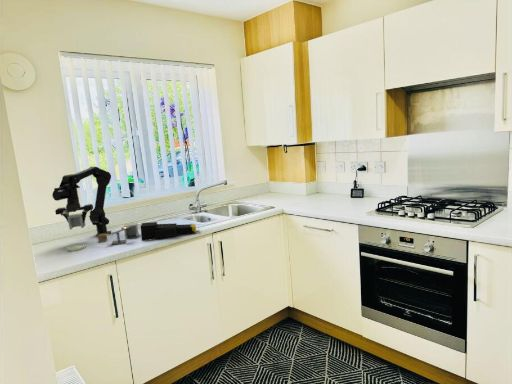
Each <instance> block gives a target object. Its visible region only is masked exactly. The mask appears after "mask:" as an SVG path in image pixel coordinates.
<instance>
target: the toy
mask: <svg viewBox="0 0 512 384" xmlns="http://www.w3.org/2000/svg"><path fill="white" fill-rule="evenodd" d="M195 234H197V226H196V224H195V223H193V224H192V223H189V224H177V223H176V222H175V223H158V221H152V222H142V223H141V224H140V235H141V241H150V240H149V239H152V240H157V239H163V238H169V237H174V236H183V235H185V236H186V235H195Z"/></svg>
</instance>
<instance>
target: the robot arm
mask: <svg viewBox="0 0 512 384" xmlns="http://www.w3.org/2000/svg"><path fill="white" fill-rule="evenodd" d="M90 176H93V178H95V182H96V185H97V188H96V189H97V191H96V196H95V197H96V198H95V201H94V202H95V203H94V205H93V204H90V203H88V204H85V205H83V206H81V204H80V197H79V194H78V189H79V188H81V187H80V186H79V185H78V184H79V183H80V182H81V180H83V179H86V178H89V177H90ZM111 178H112V175H111V172H109V171H107V170H104V169H102V168H99V167H98V166H90V167H88V168H85V169H83V170H81V171H78V172H76V173H73V174H66V175H63V176H62V177H61V182H60V183H59V186H58V187H54V189H53V191H52V195H51V196H52V198H53V200H54V201H57V202H58V201H62V200H67V201H66V205H65V207H58V208H55V211H54V212H55V215H60V216H62V217H64V219H66V221H67V222H68V216H69V215H70V213H76V212H78V211H81V213H82V214H83V223H85V224H86V222H85V221H86V217H87V214H88V212H89V220H90V222H91V224H92V225H93V226H95V228H96V236H97V237H98V235H99V234H103V233H106V234H107V231H108V229H107V228H108V227H107V225H109V224H110V219H108V218H107V217H106V212H105V209H104V206H105V199H106V194H107V193H106V191H107V186H108V185H109V184H110V182H111V180H112V179H111ZM68 224H69V222H68Z"/></svg>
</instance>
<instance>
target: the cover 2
mask: <svg viewBox="0 0 512 384" xmlns="http://www.w3.org/2000/svg"><path fill="white" fill-rule="evenodd" d="M126 226H129V227H130V228H128V229H125V230H123V231H124V239H125V240H127V239H128V237H131V236H136V238H139V235H140V233H139V227H138V226H139V225H138V222H130V223H125V224H124V225H123V227H126Z"/></svg>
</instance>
